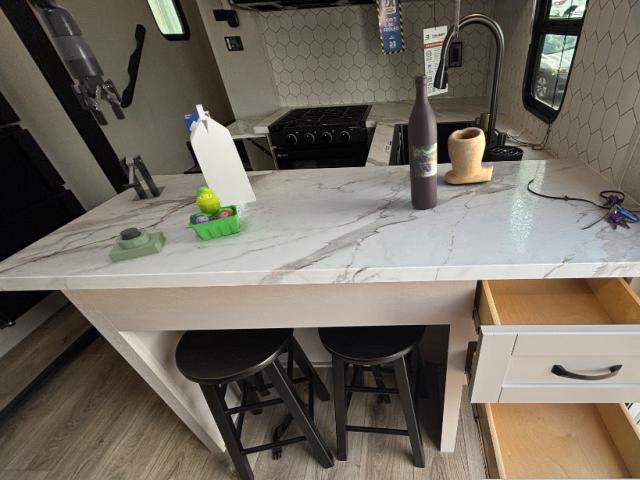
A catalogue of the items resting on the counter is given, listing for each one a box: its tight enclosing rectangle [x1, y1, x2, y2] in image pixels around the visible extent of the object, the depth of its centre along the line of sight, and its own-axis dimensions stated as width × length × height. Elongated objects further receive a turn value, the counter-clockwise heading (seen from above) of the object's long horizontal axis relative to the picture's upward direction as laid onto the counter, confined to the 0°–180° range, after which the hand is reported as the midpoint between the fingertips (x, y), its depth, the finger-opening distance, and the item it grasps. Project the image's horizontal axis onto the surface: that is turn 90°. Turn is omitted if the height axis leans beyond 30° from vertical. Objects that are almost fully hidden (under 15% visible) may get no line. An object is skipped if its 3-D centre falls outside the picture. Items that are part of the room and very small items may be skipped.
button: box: [119, 227, 141, 240], centre depth 81 cm, size 4×4×2 cm
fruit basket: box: [188, 185, 241, 242], centre depth 85 cm, size 11×9×11 cm
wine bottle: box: [407, 74, 438, 210], centre depth 84 cm, size 7×7×30 cm
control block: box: [107, 229, 166, 263], centre depth 83 cm, size 10×8×4 cm
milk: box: [189, 103, 258, 207], centre depth 99 cm, size 12×12×26 cm
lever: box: [122, 156, 143, 190], centre depth 105 cm, size 12×4×2 cm, turn 20°
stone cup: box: [444, 127, 494, 185], centre depth 100 cm, size 15×12×15 cm
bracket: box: [117, 154, 165, 202], centre depth 110 cm, size 10×8×13 cm
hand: (113, 122), depth 103 cm, fingers open, 8 cm apart
